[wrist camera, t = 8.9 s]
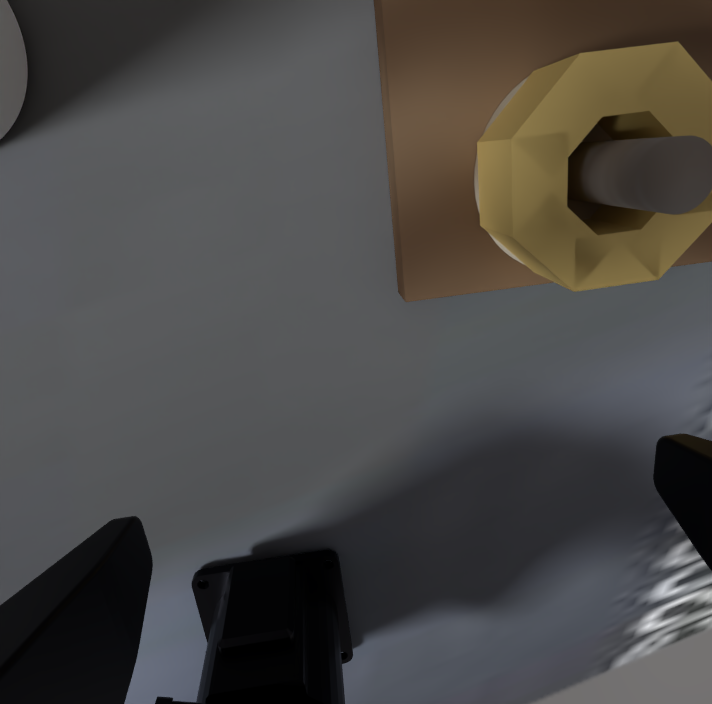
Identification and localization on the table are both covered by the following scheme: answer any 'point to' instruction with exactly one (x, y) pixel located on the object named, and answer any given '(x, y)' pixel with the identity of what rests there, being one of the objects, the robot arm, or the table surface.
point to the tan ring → (562, 136)
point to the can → (11, 68)
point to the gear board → (486, 101)
